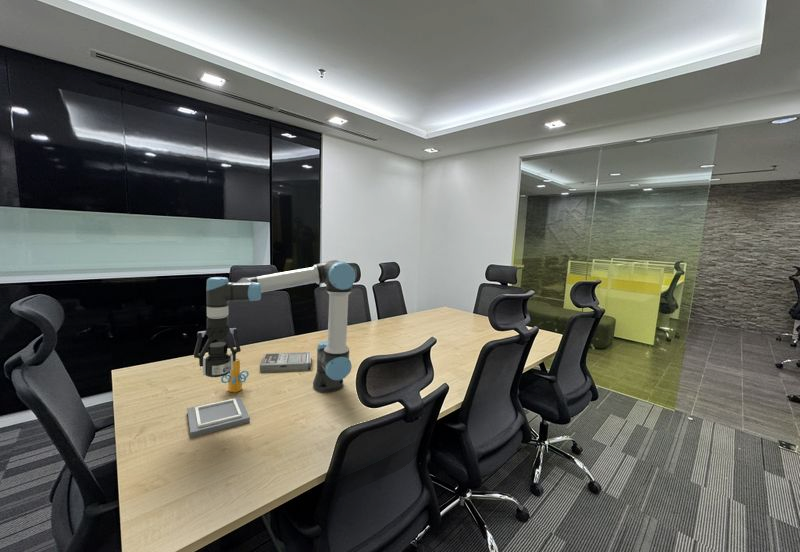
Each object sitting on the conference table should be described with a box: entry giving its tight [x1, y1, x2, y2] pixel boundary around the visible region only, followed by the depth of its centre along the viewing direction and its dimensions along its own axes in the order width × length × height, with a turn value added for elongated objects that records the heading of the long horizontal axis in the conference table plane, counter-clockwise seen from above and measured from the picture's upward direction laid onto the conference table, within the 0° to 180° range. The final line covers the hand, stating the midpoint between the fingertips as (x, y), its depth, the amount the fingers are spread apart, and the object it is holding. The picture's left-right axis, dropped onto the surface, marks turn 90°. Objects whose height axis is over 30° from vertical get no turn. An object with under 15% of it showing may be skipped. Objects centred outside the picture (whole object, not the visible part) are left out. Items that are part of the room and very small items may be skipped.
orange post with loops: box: [220, 357, 249, 393], centre depth 156 cm, size 12×10×15 cm
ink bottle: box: [205, 341, 231, 378], centre depth 130 cm, size 10×9×12 cm
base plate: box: [186, 396, 251, 438], centre depth 132 cm, size 20×20×3 cm
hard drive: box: [259, 351, 312, 373], centre depth 190 cm, size 18×27×4 cm
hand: (218, 371), depth 130 cm, fingers closed on ink bottle, 9 cm apart
